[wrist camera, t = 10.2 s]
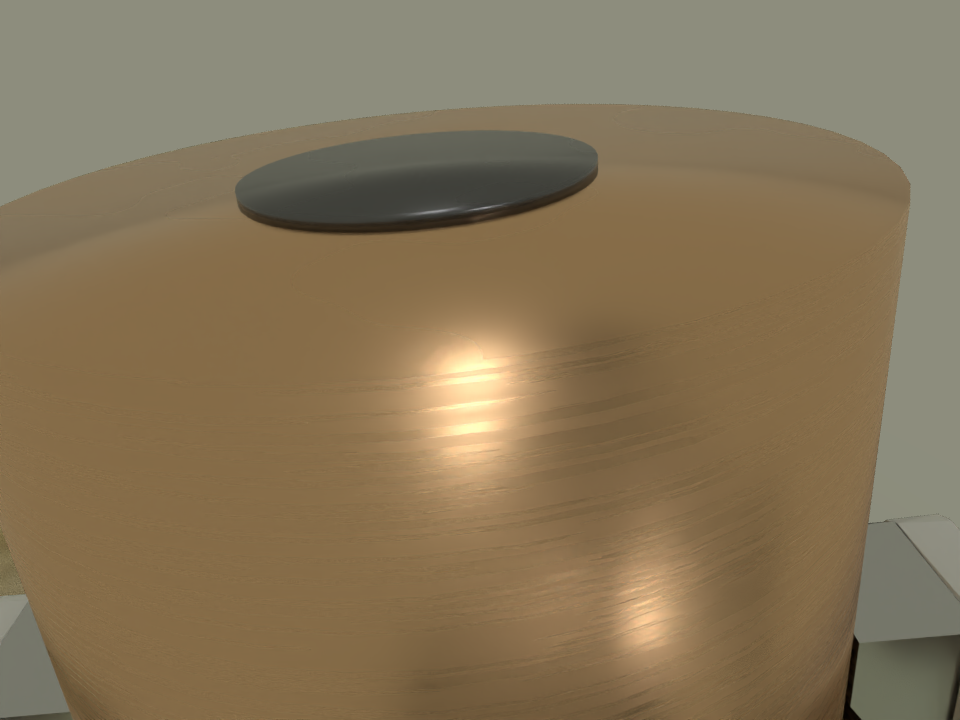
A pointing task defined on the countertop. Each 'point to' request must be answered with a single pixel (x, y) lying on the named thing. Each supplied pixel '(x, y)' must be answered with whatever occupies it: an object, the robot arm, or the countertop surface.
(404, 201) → the canister
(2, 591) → the countertop surface
